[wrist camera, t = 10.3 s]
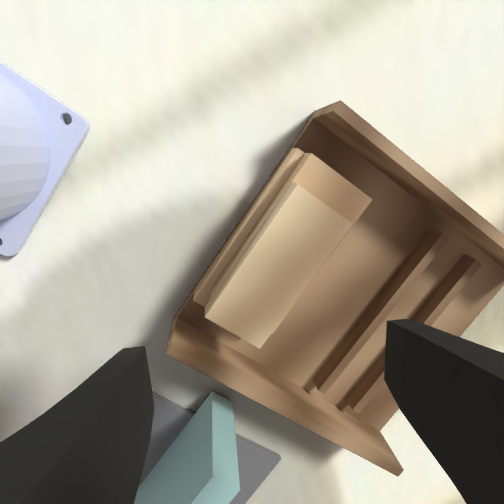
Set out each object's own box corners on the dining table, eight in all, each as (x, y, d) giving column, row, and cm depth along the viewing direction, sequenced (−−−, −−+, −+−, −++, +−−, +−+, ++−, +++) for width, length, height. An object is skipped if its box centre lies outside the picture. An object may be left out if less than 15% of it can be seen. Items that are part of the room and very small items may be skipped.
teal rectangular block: (123, 506, 23) (95, 623, 18) (212, 391, 22) (212, 476, 16) (144, 515, 24) (122, 632, 18) (232, 402, 22) (240, 490, 16)
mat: (64, 448, 22) (62, 452, 22) (114, 373, 21) (113, 376, 21) (229, 518, 25) (229, 523, 25) (280, 455, 24) (280, 459, 24)
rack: (173, 318, 21) (163, 360, 16) (315, 110, 18) (345, 98, 14) (369, 427, 24) (403, 485, 20) (507, 264, 22) (577, 290, 18)
